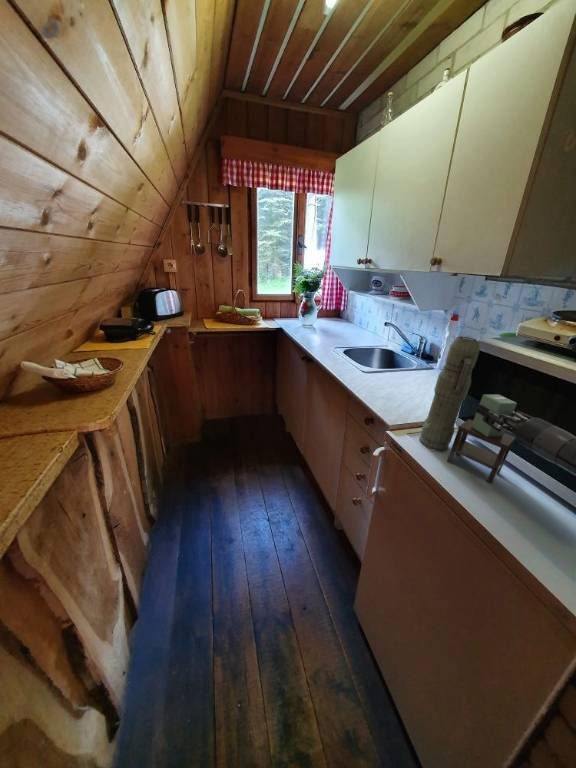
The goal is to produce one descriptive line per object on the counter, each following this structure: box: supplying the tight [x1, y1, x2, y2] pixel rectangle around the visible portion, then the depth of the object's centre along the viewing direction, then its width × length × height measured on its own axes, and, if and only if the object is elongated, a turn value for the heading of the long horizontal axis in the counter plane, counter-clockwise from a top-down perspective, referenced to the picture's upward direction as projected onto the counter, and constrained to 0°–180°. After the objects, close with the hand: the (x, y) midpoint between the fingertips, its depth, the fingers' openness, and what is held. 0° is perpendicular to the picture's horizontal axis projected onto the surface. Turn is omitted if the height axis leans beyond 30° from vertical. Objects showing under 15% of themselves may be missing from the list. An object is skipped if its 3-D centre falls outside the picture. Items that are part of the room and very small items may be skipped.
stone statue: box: [419, 336, 480, 452], centre depth 93 cm, size 9×12×35 cm
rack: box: [446, 418, 516, 484], centre depth 87 cm, size 12×8×12 cm, turn 42°
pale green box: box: [471, 394, 518, 437], centre depth 83 cm, size 6×6×10 cm
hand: (486, 408), depth 85 cm, fingers closed on pale green box, 5 cm apart
